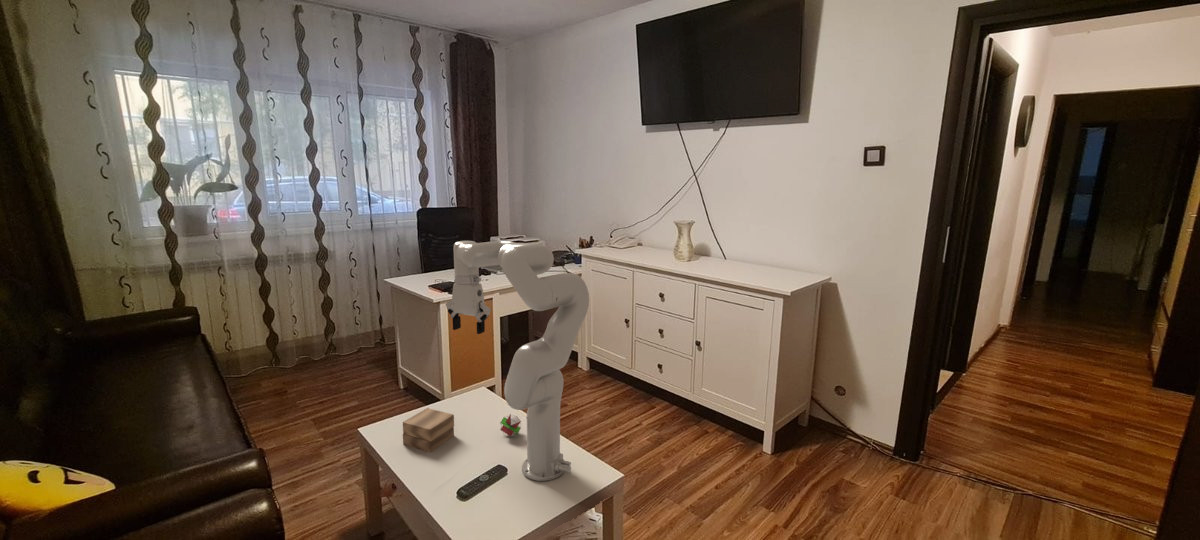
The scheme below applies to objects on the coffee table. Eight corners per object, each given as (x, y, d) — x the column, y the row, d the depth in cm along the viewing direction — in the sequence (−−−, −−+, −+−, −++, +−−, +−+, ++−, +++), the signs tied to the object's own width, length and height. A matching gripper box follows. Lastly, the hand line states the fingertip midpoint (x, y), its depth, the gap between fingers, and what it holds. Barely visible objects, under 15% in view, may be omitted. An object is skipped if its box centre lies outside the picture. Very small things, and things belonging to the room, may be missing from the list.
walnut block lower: (454, 437, 167) (453, 426, 166) (430, 453, 157) (429, 442, 156) (428, 430, 171) (427, 419, 170) (403, 445, 161) (402, 434, 160)
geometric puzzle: (496, 441, 164) (496, 418, 162) (503, 430, 170) (502, 408, 169) (518, 442, 163) (518, 419, 162) (524, 432, 170) (523, 410, 168)
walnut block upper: (454, 426, 166) (453, 414, 165) (430, 441, 156) (430, 429, 156) (427, 419, 170) (427, 408, 170) (403, 433, 161) (402, 422, 160)
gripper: (496, 280, 162) (497, 331, 166) (453, 275, 169) (455, 324, 173) (481, 284, 156) (483, 337, 159) (437, 279, 163) (440, 330, 166)
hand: (468, 330), depth 166 cm, fingers open, 9 cm apart
